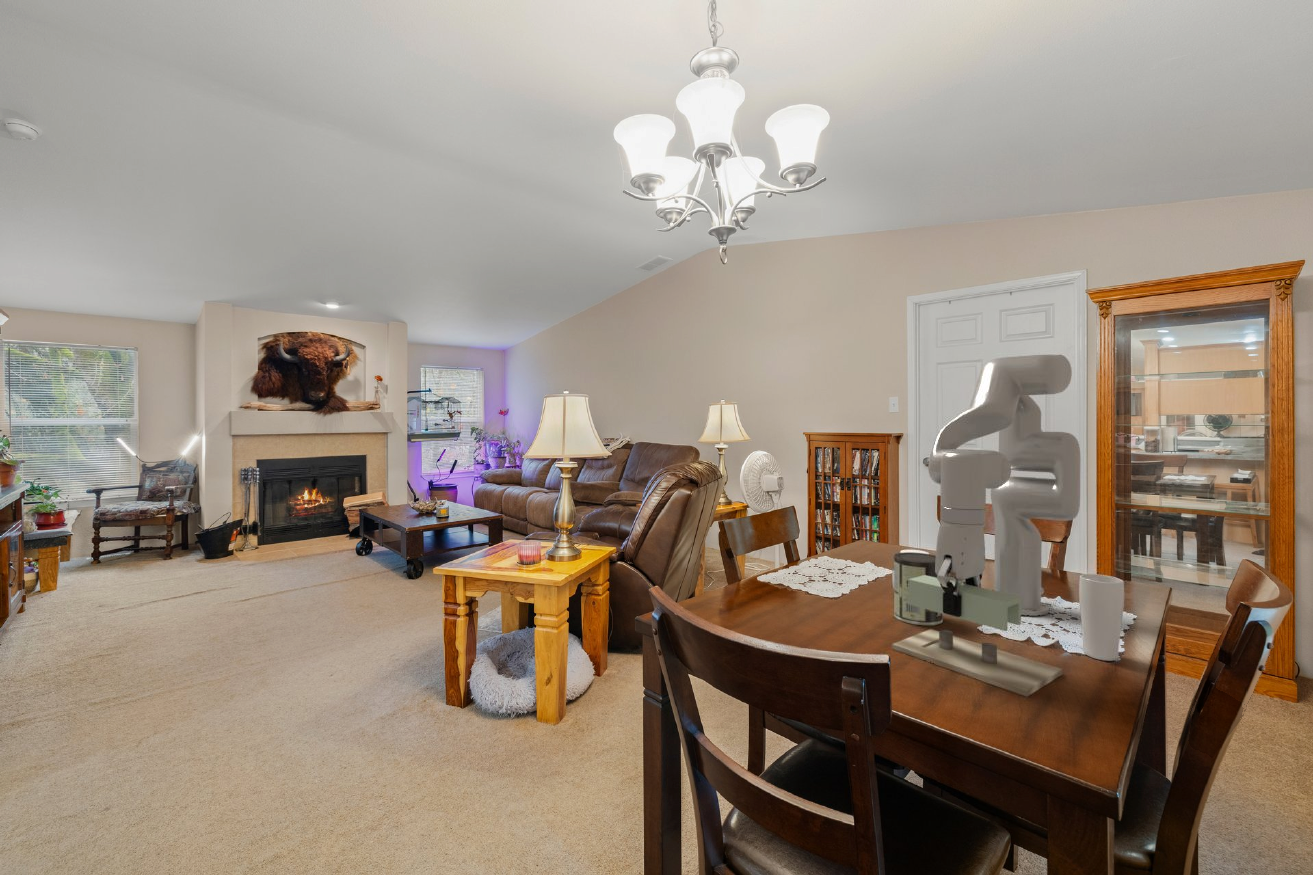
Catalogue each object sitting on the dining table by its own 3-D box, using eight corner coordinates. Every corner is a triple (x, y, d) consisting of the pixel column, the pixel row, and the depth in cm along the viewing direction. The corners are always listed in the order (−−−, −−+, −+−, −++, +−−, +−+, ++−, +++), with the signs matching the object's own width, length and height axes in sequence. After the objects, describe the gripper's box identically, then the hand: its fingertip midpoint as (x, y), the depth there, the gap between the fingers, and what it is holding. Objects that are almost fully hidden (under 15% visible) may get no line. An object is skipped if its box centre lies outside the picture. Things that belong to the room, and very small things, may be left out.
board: (930, 633, 120) (930, 614, 120) (1061, 674, 100) (1062, 652, 100) (892, 648, 112) (892, 628, 112) (1026, 696, 92) (1026, 672, 92)
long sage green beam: (924, 599, 116) (924, 575, 116) (1020, 624, 101) (1021, 596, 101) (908, 604, 113) (908, 579, 113) (1005, 630, 98) (1005, 602, 98)
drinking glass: (1113, 651, 110) (1115, 575, 109) (1130, 665, 103) (1131, 584, 103) (1072, 647, 112) (1073, 572, 112) (1086, 660, 106) (1087, 581, 105)
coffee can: (935, 611, 133) (935, 552, 133) (948, 627, 123) (949, 563, 123) (889, 609, 136) (889, 551, 135) (898, 624, 125) (898, 561, 125)
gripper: (965, 511, 115) (964, 599, 115) (918, 518, 105) (917, 614, 105) (1005, 515, 109) (1003, 608, 109) (959, 523, 99) (957, 626, 99)
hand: (961, 610), depth 107 cm, fingers closed on long sage green beam, 6 cm apart
